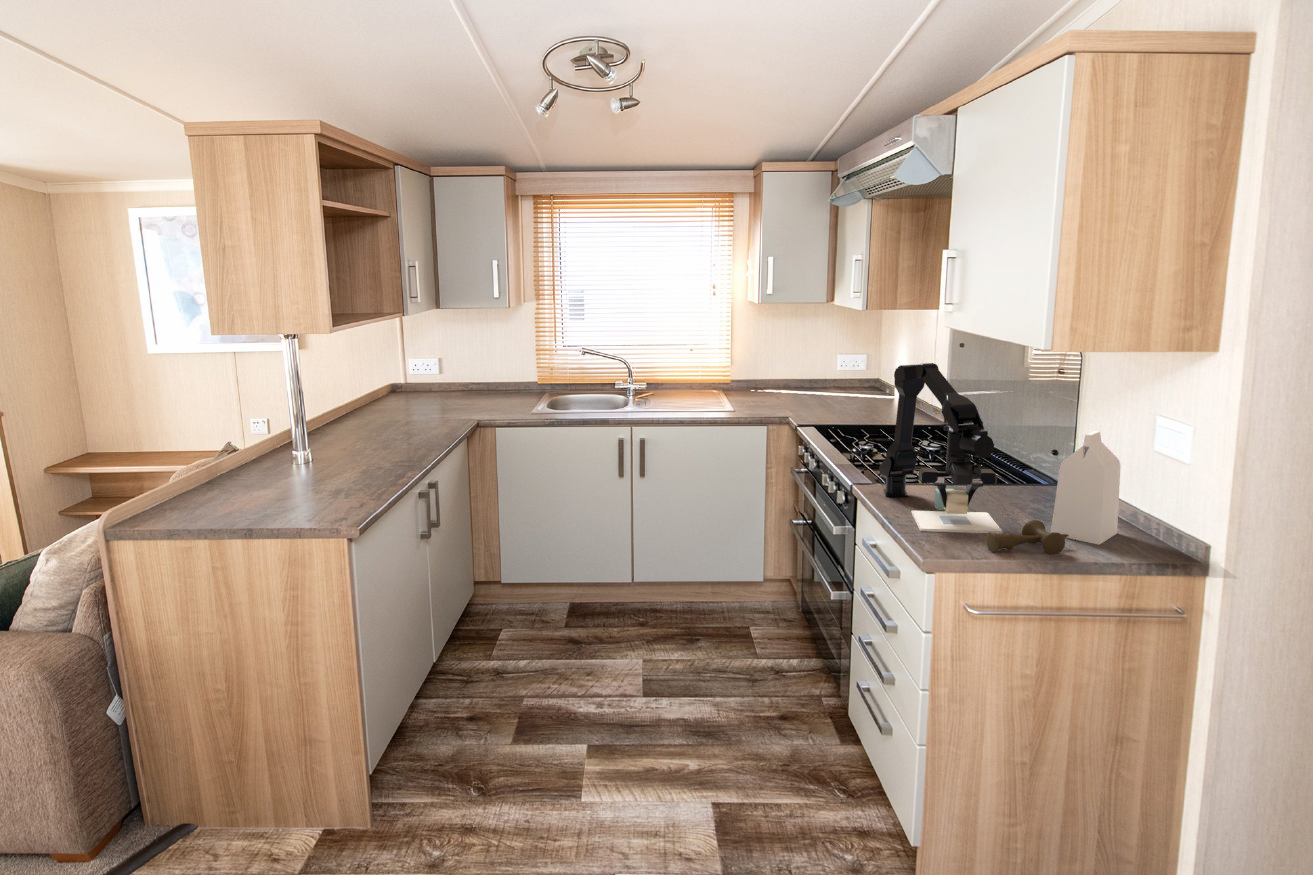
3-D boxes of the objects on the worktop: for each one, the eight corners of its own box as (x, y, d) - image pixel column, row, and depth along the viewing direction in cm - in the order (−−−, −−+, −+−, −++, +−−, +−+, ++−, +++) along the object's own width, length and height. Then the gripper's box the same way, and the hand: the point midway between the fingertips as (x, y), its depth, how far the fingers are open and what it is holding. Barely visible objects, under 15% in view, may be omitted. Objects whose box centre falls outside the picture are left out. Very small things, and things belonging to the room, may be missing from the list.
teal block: (934, 505, 230) (935, 488, 229) (952, 505, 229) (953, 488, 228) (937, 510, 225) (938, 493, 224) (956, 510, 225) (957, 493, 224)
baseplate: (911, 512, 223) (911, 510, 223) (987, 514, 220) (987, 512, 220) (920, 531, 208) (920, 528, 208) (1002, 533, 204) (1002, 530, 204)
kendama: (978, 547, 197) (1055, 540, 199) (999, 561, 188) (1080, 554, 190) (979, 523, 196) (1057, 517, 198) (1000, 537, 186) (1081, 530, 188)
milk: (1069, 523, 211) (1077, 426, 206) (1117, 533, 203) (1126, 432, 198) (1050, 534, 203) (1058, 433, 198) (1099, 544, 195) (1109, 439, 190)
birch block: (943, 508, 216) (944, 490, 215) (963, 508, 215) (964, 490, 214) (947, 513, 211) (948, 495, 210) (967, 514, 210) (968, 495, 209)
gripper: (926, 456, 204) (923, 515, 207) (1004, 457, 201) (1000, 517, 204) (919, 446, 214) (917, 503, 218) (993, 447, 211) (989, 504, 215)
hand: (955, 507), depth 213 cm, fingers closed on birch block, 5 cm apart
